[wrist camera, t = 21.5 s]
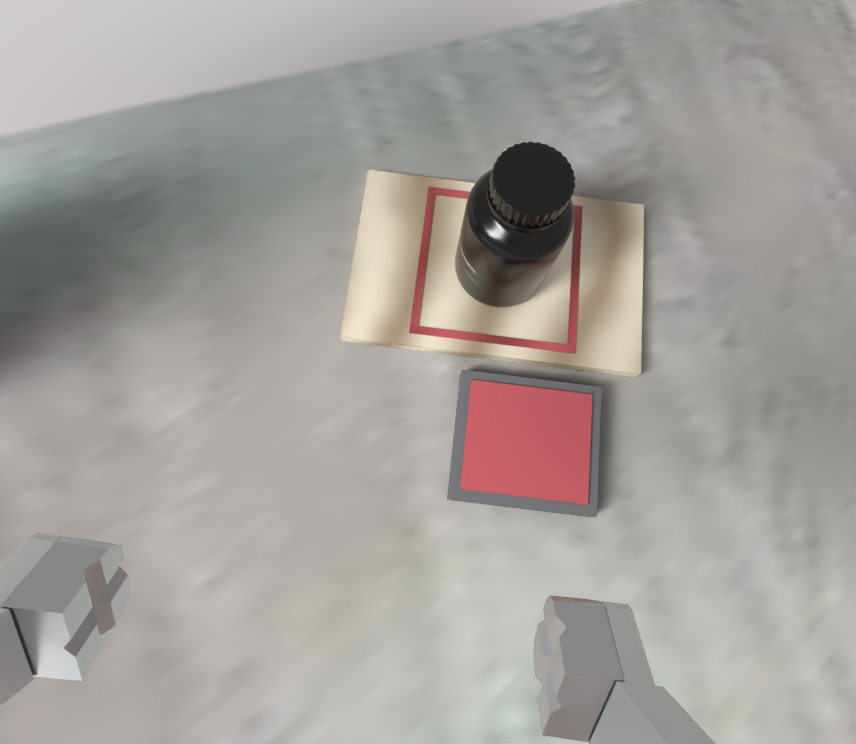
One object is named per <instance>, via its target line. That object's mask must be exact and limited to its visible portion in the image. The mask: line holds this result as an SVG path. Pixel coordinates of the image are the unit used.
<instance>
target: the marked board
mask: <svg viewBox="0 0 856 744" xmlns="http://www.w3.org/2000/svg"><path fill="white" fill-rule="evenodd" d="M474 185H475V183H471V182H463V181H455V180H447V179H439V178H431V177H424V176H416V175H408V174H400V173H392V172H384V171H376V170H369V169H368V173H367V179H366V185H365V191H364V197H363V203H362V209H361V215H360V221H359V227H358V233H357V239H356V245H355V251H354V257H353V263H352V269H351V275H350V281H349V287H348V293H347V299H346V305H345V311H344V317H343V323H342V329H341V335H340V337H341V340H342V341H347V342H356V343H364V344H372V345H380V346H388V347H396V348H404V349H412V350H420V351H428V352H436V353H444V354H452V355H460V356H468V357H476V358H484V359H492V360H500V361H508V362H516V363H524V364H532V365H540V366H548V367H556V368H564V369H573V370H581V371H589V372H597V373H605V374H613V375H621V376H629V377H637V376H639V375H640V374H641V351H642V296H643V242H644V205H643V204H635V203H628V202H620V201H612V200H604V199H596V198H588V197H581V196H572V198H571V199H572V202H573V207H574V224H573V228H572V231H571V234H570V236H569V238H568V240H567V242H566V244H565V245H564V247H563V249H562V250H561V252H560V254H559V255H558V257H557V259H556V260H555V262H554V264H553V265H552V267H551V269H550V270H549V272H548V274H547V275H546V277H545V279H544V280H543V282H542V284H541V285H540V287H539V288H538V289H537V291H536V292H535V293H534V294H533V295H532V296H531V297H530V298H529V299H527V300H526V301H524V302H522V303H520V304H518V305H515V306H511V307H492V306H488V305H485V304H483V303H480V302H479V301H477V300H475V299H474V298H472V297H471V296H470V295H469V294H468V293H467V292H466V291H465V290H464V289H463V287H462V286H461V284H460V282H459V280H458V278H457V275H456V270H455V256H456V250H457V245H458V241H459V236H460V231H461V227H462V222H463V217H464V213H465V208H466V204H467V200H468V197H469V194H470V192H471V190H472V188H473V186H474Z"/></svg>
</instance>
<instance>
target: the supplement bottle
mask: <svg viewBox="0 0 856 744" xmlns="http://www.w3.org/2000/svg"><path fill="white" fill-rule="evenodd" d="M573 174H574V171H573V170H572V168H571V164H570V163H569V162H568V161H567V158H566V157H564V156H563V155H562V153H561V152H559V151H557V150H556V149H555V148H553V147H549V146H548V145H546V144H541V143H539V142H538V143H533V142H528V143H525V142H523V143H521V144H515V145H514V146H513V147H509V148H508V149H507V150H506V151H504V152H502V154H501V156H499V157H498V158H497V161H496V163H495V164H494V165H493V169H491V170H489V171H488V172H487V173H485V174H484V175H483V176H482V177H481V178H480V179H479V180H478V181H477V182H476V183H475V185H474V186H473V188H472V190H471V192H470V194H469V197H468V200H467V204H466V208H465V213H464V217H463V222H462V227H461V231H460V236H459V241H458V245H457V250H456V256H455V270H456V275H457V278H458V280H459V282H460V284H461V286H462V287H463V289H464V290H465V291H466V292H467V293H468V294H469V295H470V296H471V297H472V298H474V299H475V300H477V301H479V302H480V303H483V304H485V305H488V306H492V307H511V306H515V305H518V304H520V303H522V302H524V301H526V300H527V299H529V298H530V297H531V296H532V295H533V294H534V293H535V292H536V291H537V289H538V288H539V287H540V285H541V284H542V282H543V280H544V279H545V277H546V275H547V274H548V272H549V270H550V269H551V267H552V265H553V264H554V262H555V260H556V259H557V257H558V255H559V254H560V252H561V250H562V249H563V247H564V245H565V244H566V242H567V240H568V238H569V236H570V234H571V231H572V228H573V224H574V207H573V202H572V199H571V198H572V196H573V193H574V191H573V190H574V188H575V183H574V181H575V177H574V175H573Z"/></svg>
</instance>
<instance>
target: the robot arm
mask: <svg viewBox="0 0 856 744" xmlns="http://www.w3.org/2000/svg"><path fill="white" fill-rule="evenodd" d="M124 558H125V557H124V554H123V550H122V546H121V545H117V544H112V543H105V542H98V541H91V540H85V539H78V538H71V537H63V536H55V535H48V534H41V533H37V534H36V535H34V536H32V537H30V538H29V539H27V541H26V542H25V543H24V544H23V545H22V546H21V547H20V548H19V550H18V551H17V552H16V553H15V554H14V555H13V556H12V557H11V559H10V560H9V561H8V562H7V563H6V564H5V565H4V566H3V568H2V569H1V570H0V705H2V704H3V703H4V702H6V701H7V700H8V699H9V698H11V697H12V696H13V695H15V694H16V693H17V692H19V691H20V690H21V689H22V688H24V687H25V686H26V685H28V684H29V683H30V682H32V681H33V680H34V677H44V678H55V679H67V680H78V681H83V679H84V677H85V676H86V674H87V672H88V671H89V669H90V667H91V666H92V664H93V662H94V661H95V659H96V657H97V656H98V654H99V653H100V651H101V649H102V648H103V646H102V640H101V635H102V634H104V633H105V632H107V631H108V630H110V629H111V628H113V627H114V626H116V624H117V622H118V621H119V619H120V617H121V615H122V614H123V612H124V609H125V606H126V603H127V600H128V597H129V586H130V583H129V578H128V574H127V573H126V572H125V571H124V570H123V569H122V568H121V567H120V564H121V563H122V561H123V560H124ZM543 610H544V617H545V620H544V621H542V622H541V623H539V624H538V627H537V631H536V635H535V643H534V667H535V676H536V677H537V678H538V680H539V681H540V682H541V684H542V688H541V691H540V694H539V697H538V703H539V711H540V719H541V727H542V735H544V736H551V737H558V738H565V739H571V740H578V741H585V742H589V744H715V742H714V741H713V740H712V739H711V738H710V737H709V736H708V735H707V734H706V733H705V732H704V731H703V729H702V728H701V727H700V726H699V725H698V724H697V723H696V722H695V721H694V720H693V719H692V717H691V716H690V715H689V714H688V713H687V712H686V711H685V710H684V709H683V708H682V707H681V706H680V704H679V703H678V702H677V701H676V700H675V699H674V698H673V697H672V696H671V695H670V694H669V692H668V691H667V690H666V689H665V688H664V687H660V686H655V683H654V680H653V677H652V673H651V670H650V667H649V664H648V660H647V657H646V654H645V651H644V647H643V644H642V641H641V638H640V634H639V631H638V628H637V625H636V621H635V618H634V615H633V611H632V609H631V608H630V607H629V605H627V604H619V603H611V602H600V601H597V600H588V599H578V598H569V597H560V596H550V595H549V597H548V598H547V599H546V602H545V605H544V608H543Z"/></svg>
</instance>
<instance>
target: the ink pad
mask: <svg viewBox="0 0 856 744" xmlns="http://www.w3.org/2000/svg"><path fill="white" fill-rule="evenodd" d="M601 394H602V387H598V386H590V385H582V384H574V383H566V382H558V381H550V380H542V379H534V378H526V377H518V376H510V375H502V374H493V373H485V372H477V371H469V370H462V372H461V375H460V383H459V392H458V402H457V411H456V420H455V430H454V439H453V449H452V458H451V468H450V477H449V487H448V496H447V500H455V501H463V502H471V503H479V504H488V505H496V506H504V507H512V508H520V509H529V510H537V511H545V512H553V513H561V514H570V515H578V516H586V517H595V516H597V502H598V475H599V448H600V421H601Z"/></svg>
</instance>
